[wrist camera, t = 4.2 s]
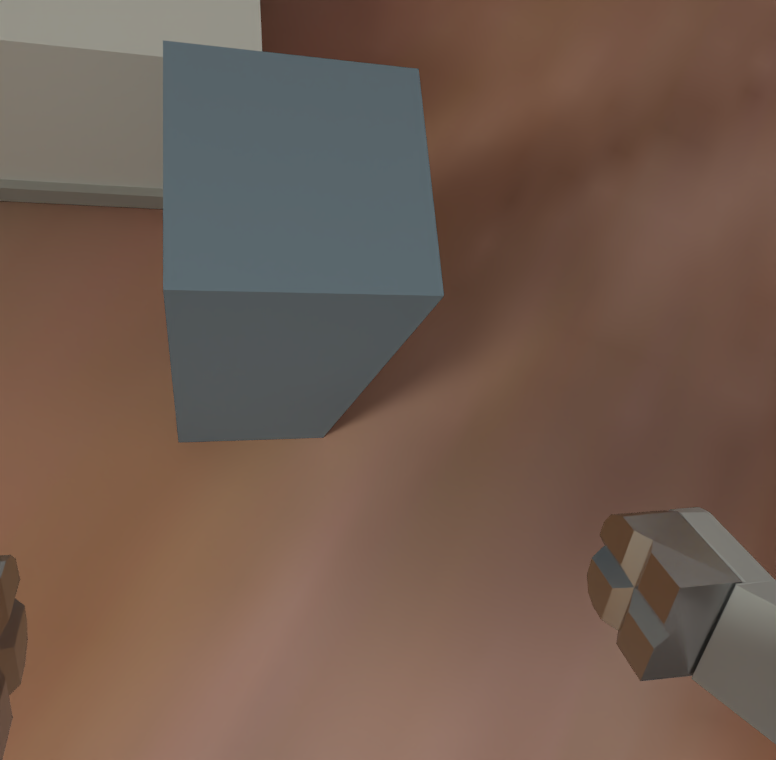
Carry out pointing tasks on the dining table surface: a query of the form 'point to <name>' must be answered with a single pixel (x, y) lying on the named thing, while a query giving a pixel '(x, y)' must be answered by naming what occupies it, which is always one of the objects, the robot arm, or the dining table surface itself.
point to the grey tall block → (289, 235)
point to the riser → (97, 93)
